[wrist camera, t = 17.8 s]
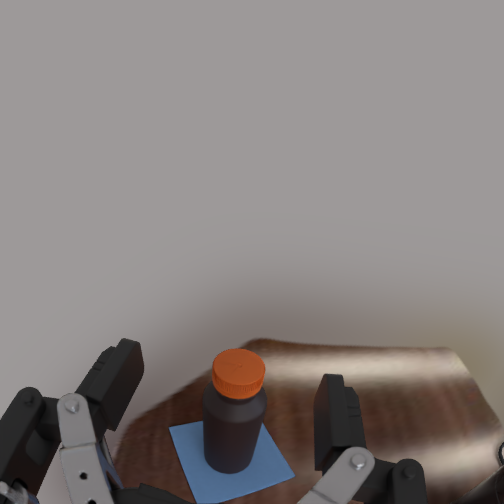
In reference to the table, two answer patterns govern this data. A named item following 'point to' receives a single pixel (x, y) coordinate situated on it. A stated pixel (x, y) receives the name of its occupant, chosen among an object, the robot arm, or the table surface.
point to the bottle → (233, 410)
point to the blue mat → (220, 484)
